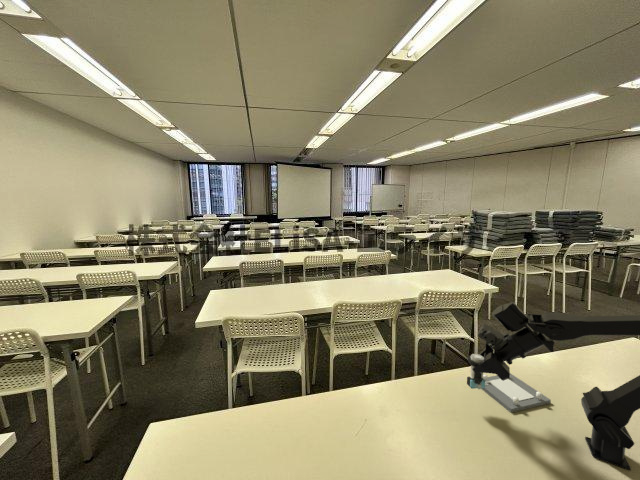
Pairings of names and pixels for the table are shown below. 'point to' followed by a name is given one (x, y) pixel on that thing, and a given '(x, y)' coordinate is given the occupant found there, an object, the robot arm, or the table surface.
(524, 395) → the mounting base
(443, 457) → the table surface
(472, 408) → the table surface
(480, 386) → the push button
